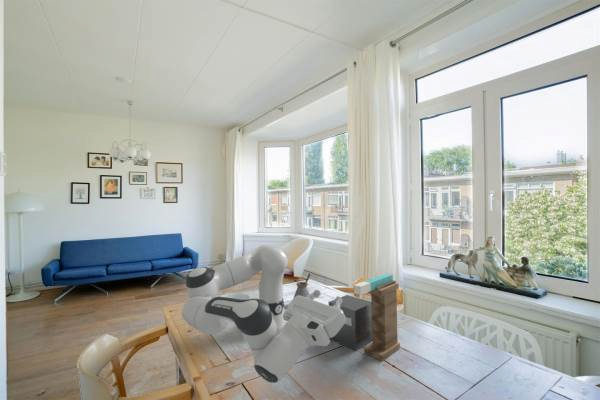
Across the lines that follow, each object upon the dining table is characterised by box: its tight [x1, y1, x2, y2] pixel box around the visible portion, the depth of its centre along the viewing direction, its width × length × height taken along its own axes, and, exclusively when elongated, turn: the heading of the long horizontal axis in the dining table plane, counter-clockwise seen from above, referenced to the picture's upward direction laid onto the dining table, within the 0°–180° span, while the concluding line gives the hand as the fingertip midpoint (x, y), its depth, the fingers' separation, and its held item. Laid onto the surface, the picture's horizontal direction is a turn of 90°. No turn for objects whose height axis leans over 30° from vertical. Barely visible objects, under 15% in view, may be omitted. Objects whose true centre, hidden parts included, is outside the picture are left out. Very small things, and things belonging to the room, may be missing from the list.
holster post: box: [363, 279, 401, 362], centre depth 111 cm, size 8×13×27 cm, turn 132°
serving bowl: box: [220, 292, 252, 300], centre depth 155 cm, size 21×21×7 cm
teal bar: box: [353, 273, 394, 296], centre depth 108 cm, size 3×22×3 cm, turn 132°
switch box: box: [328, 294, 372, 352], centre depth 120 cm, size 14×13×16 cm
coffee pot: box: [292, 273, 313, 300], centre depth 165 cm, size 21×12×15 cm, turn 160°
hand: (329, 294), depth 90 cm, fingers open, 8 cm apart
